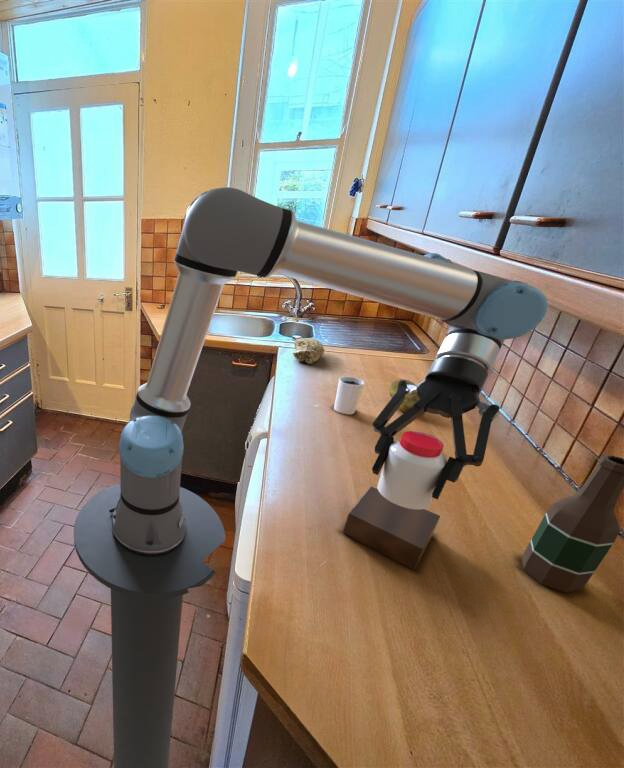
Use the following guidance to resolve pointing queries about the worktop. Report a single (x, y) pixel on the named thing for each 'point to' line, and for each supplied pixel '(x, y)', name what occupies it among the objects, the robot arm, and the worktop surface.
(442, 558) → the worktop surface
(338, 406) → the white cup
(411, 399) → the avocado
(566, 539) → the beer bottle
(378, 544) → the walnut block
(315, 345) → the tan rock
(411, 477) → the pill bottle
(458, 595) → the worktop surface
